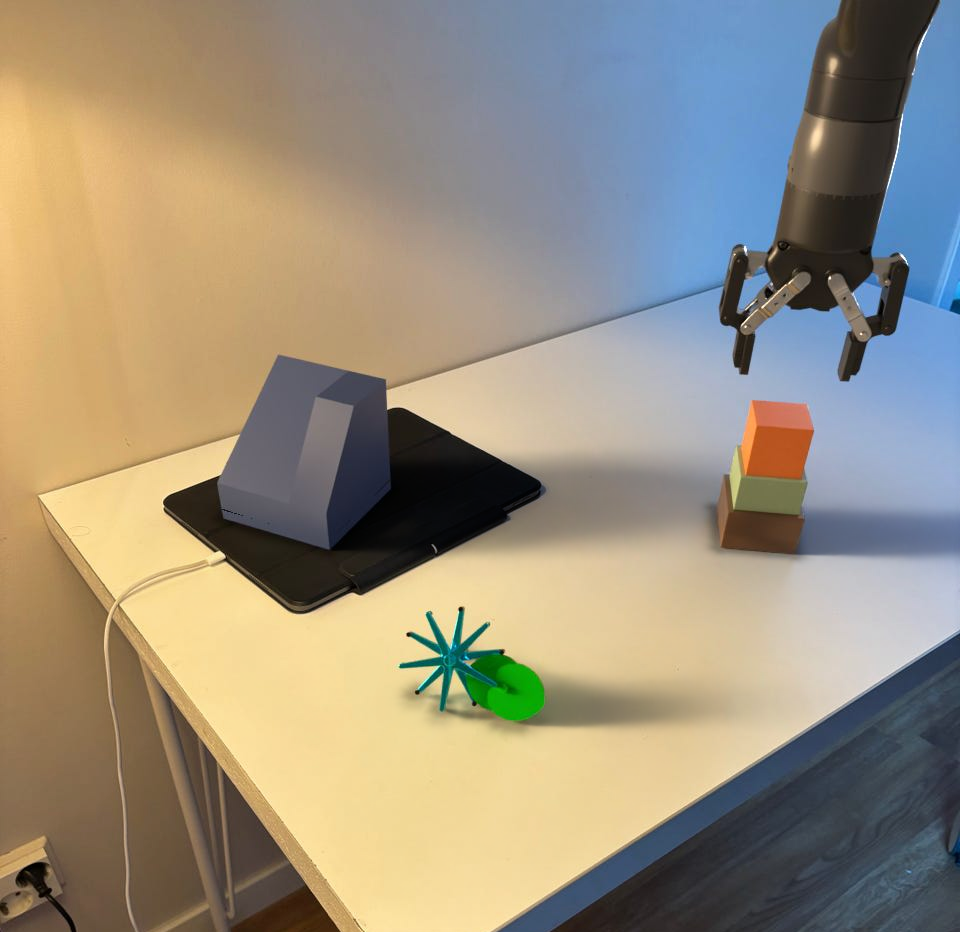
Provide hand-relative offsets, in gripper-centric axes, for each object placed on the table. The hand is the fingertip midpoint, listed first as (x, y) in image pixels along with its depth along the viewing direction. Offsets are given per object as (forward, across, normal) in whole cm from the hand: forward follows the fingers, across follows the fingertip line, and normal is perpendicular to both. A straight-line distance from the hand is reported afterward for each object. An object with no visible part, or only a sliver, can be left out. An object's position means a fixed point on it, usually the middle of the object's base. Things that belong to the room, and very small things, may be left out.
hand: (792, 374), depth 86 cm
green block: (+12, 0, 0) cm, 12 cm away
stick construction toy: (+16, -24, -26) cm, 39 cm away
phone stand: (+16, -44, -2) cm, 47 cm away
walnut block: (+16, 0, 0) cm, 16 cm away
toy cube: (+9, 0, 0) cm, 9 cm away
